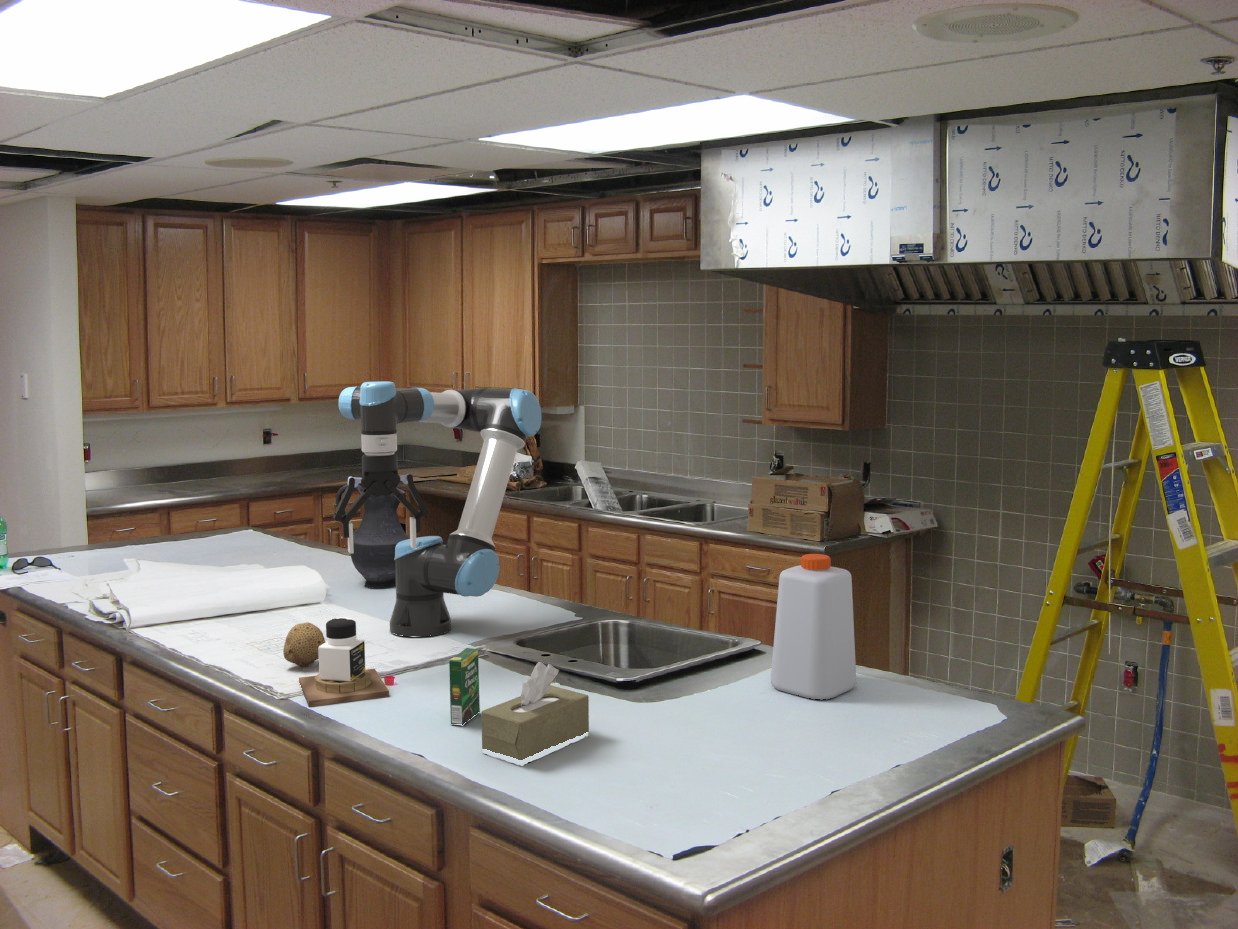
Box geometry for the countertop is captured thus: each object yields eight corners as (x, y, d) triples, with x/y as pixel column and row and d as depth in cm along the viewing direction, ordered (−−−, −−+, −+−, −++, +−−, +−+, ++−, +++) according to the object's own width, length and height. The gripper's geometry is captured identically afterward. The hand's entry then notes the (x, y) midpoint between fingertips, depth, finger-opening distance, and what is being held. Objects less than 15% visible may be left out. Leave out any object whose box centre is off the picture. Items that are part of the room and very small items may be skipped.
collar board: (374, 673, 241) (374, 660, 241) (389, 696, 227) (388, 682, 226) (299, 683, 235) (298, 669, 235) (308, 707, 221) (308, 692, 220)
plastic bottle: (762, 688, 231) (764, 556, 228) (802, 671, 242) (805, 545, 239) (824, 705, 221) (827, 567, 218) (863, 686, 232) (867, 555, 229)
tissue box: (520, 768, 190) (519, 679, 188) (480, 755, 196) (478, 668, 194) (590, 736, 205) (590, 653, 203) (551, 725, 211) (550, 644, 209)
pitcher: (404, 592, 314) (401, 488, 311) (331, 592, 315) (327, 488, 311) (416, 578, 332) (413, 479, 328) (346, 578, 332) (343, 479, 328)
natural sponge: (336, 664, 249) (334, 620, 247) (309, 675, 241) (308, 630, 239) (304, 658, 252) (302, 616, 251) (277, 670, 244) (275, 625, 243)
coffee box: (463, 727, 209) (461, 660, 208) (449, 726, 210) (447, 659, 208) (481, 713, 217) (479, 648, 215) (467, 712, 218) (466, 647, 216)
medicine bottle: (351, 682, 226) (349, 625, 225) (318, 680, 228) (316, 623, 226) (365, 671, 233) (364, 616, 232) (334, 669, 235) (332, 614, 233)
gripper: (322, 458, 231) (326, 557, 234) (440, 452, 240) (442, 548, 243) (317, 454, 238) (321, 551, 241) (432, 448, 247) (434, 542, 250)
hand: (382, 550), depth 242 cm, fingers open, 13 cm apart
